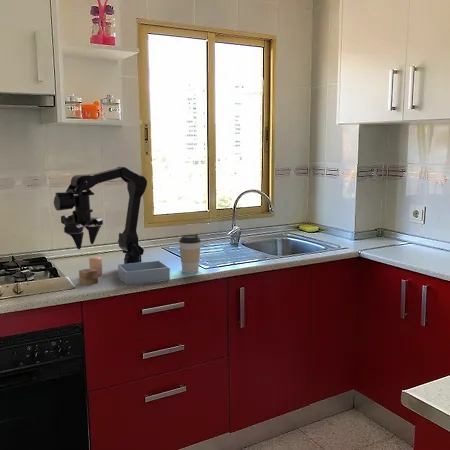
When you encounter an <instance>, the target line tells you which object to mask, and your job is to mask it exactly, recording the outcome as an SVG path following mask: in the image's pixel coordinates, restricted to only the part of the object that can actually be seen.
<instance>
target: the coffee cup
mask: <svg viewBox="0 0 450 450" xmlns="http://www.w3.org/2000/svg"><path fill="white" fill-rule="evenodd" d="M178 242H179V254H180V255H179V257H180V261H181V262H180V263H181V271H182V272H183V273H187V274H189V273H190V274H194V273H198V272H199V267H200V257H201V256H200V255H201V243H202V241H201V238H200V237H199V235H198V234H186V235H182V236H181V237H180V238H179V241H178Z"/></svg>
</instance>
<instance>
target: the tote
mask: <svg viewBox="0 0 450 450" xmlns="http://www.w3.org/2000/svg"><path fill="white" fill-rule="evenodd" d="M117 271H118V272H117V274H118V278H119V280H121V281H122V282H123V284H124V285H126V286H130V285H131V286H132V285H138V284H141V285H142V284H147V283H157V282H166V281H171V267H170V266H168V265H167V264H166V263H164V262H163V261H161V260H152V261H150V260H149V261H141V262H139V263H129V264H124V263H121V264H120V263H119V264H117Z"/></svg>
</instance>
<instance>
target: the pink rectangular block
mask: <svg viewBox="0 0 450 450" xmlns="http://www.w3.org/2000/svg"><path fill="white" fill-rule="evenodd" d="M88 264H89V268H88V269H90V268H92V269H94V270H97V274H98V277H101V276H103V257H102V256H91V257H89V258H88Z"/></svg>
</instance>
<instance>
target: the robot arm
mask: <svg viewBox="0 0 450 450" xmlns="http://www.w3.org/2000/svg"><path fill="white" fill-rule="evenodd" d="M119 178H120V179H121V180H122V181H123V182H124V183H126V184H127V186H126V188H127V192H128V203H127V211H126V218H125V226H124V229H123V231H122V233H121V232H119V233H118V240H117V243H118V247H119V249H121V251H122V253H123V254H124V258H123V264H129V263H139V262H142V256H143V255H144V252H145V249H144V248H143V247H142V246H141V245H140V244H139V236H138V232H137V227H138V222H139V215H140V214H139V213H140V206H141V201H142V197H143V196H144V193H145V192H146V189H147V186H148V180H147V178H146V177H145V176H143V175H139V174H138V173H136V172H134V171H132V170H130V169H129V168H127V167H126V166H117V167H114V168H110V169H107V170H103V171H100V172H97V173H96V172H95V173H89V174H75V175H74V176H73V175H72V177H71V178H70V184H69V185H68V187H67V189H66V191H64V192H63V191H62V192H59V191H57V192H55V196H54V199H53V206H54V209H55V211H66V210H72V209H74V210H73V211H72V214H71V215H67V214H63V215H61V216H60V223H61V224H63V225H64V227H63V232H64V233H65V234H66V235H68V236H70V237H71V238H72V239H73V242H74V245H75V246H76V248H77V250H81V249H82V245H83V238H84V235H85V234H84V231H83V230H84V229H86V230H87V231H88V235H89V236H88V238H89V242H90V245H94V243H95V241H96V239H97V235H98V233H99V231H100V229H101V227H102V225H103V224H104V220H103V218H101V217H92V213H93V211H94V210H93V209H92V208H91V203H90V196H95V192H93V191H92V190H91V189H92V188H94V187H95V186H96V185H98V184H101V183H102V184H103V183H105V182H108V181H109V182H110V181H112V180H116V179H119Z"/></svg>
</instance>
